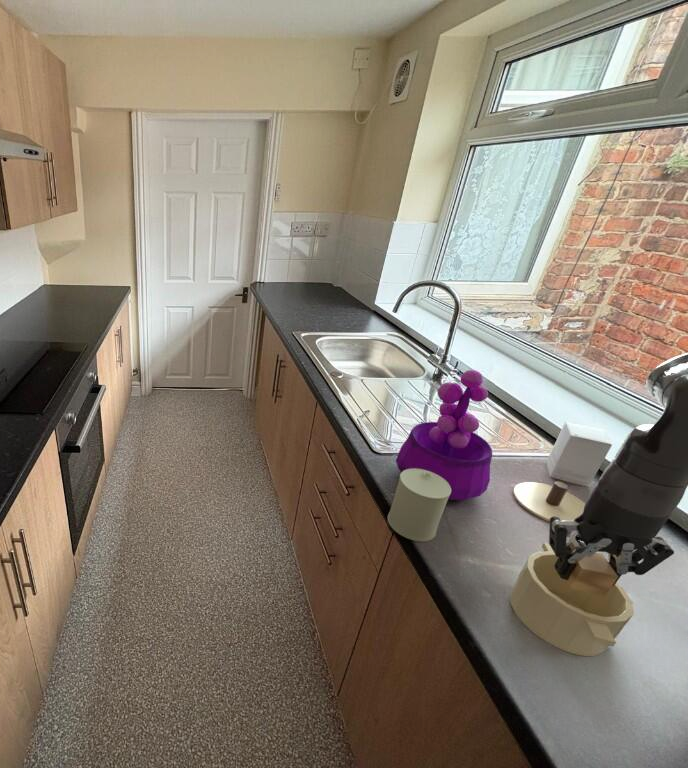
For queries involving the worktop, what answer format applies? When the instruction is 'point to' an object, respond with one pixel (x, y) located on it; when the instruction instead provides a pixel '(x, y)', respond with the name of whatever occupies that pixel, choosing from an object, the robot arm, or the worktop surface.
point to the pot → (567, 608)
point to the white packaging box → (578, 454)
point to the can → (418, 504)
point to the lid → (549, 500)
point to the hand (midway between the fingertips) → (581, 579)
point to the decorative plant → (452, 441)
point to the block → (593, 575)
